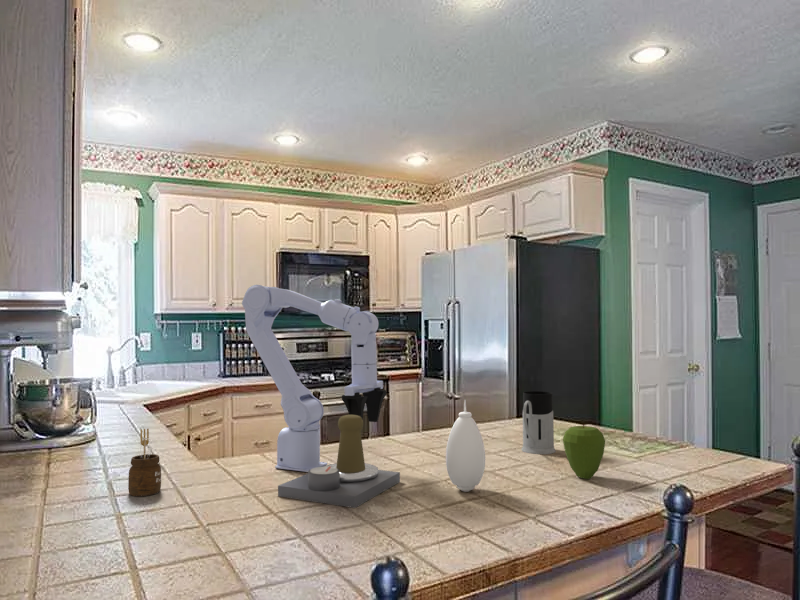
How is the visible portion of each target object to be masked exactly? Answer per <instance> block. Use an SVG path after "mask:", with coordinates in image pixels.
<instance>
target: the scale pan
mask: <svg viewBox="0 0 800 600" xmlns="http://www.w3.org/2000/svg"><path fill="white" fill-rule="evenodd" d="M336 466H337V462H336V463H331V465H330V464H327V465H325V466H323V467H334V468H336ZM378 470H379V468H378V466H376V465H374V464H371V463H366V462H365V470H363V471H360V472H352V473H345V472H340V482H358V481H365V480H369V479H372V478H375V477H376V476H378Z"/></svg>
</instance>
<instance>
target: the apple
mask: <svg viewBox="0 0 800 600" xmlns="http://www.w3.org/2000/svg"><path fill="white" fill-rule="evenodd" d="M562 443H563V449H564V453H565V455H566V458H567V461H568V464H569V466H570V468H571V470H572V471H573V473H574V474H575V475H576V477H577V478H581V479H585V480H589V479H592V477H594V475H595V474H596V473H597V472H598V471H599V469H600V466H601V463H602V459H603V456H604V454H605V448H606V447H605V446H606V439H605V437H604V434H603V432H602V431H600V429H598V427H593V426H586V425H585V424H583V425H577V426H576V425H575V426H571V427H569V428H567V430H566V431H564V435H563V437H562Z"/></svg>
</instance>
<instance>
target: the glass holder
mask: <svg viewBox="0 0 800 600" xmlns="http://www.w3.org/2000/svg"><path fill="white" fill-rule="evenodd" d="M522 394H523V395H522V401H523V403H522V406H523V407H522V447H521V450H520V451H521V452H524V453H527V454H533V455H551V454H554V453H556V449H555V446H554V444H555V439H554V438H555V437H554V436H555V434H554V433H555V432H554V430H555V428H554V410H553V408H554V407H553V401H554V400H553V392H550V391H543V390H542V391H541V390H540V391H539V390H536V391H534V390H532V391H531V390H529V391H523V393H522Z"/></svg>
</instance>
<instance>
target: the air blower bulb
mask: <svg viewBox="0 0 800 600" xmlns="http://www.w3.org/2000/svg"><path fill="white" fill-rule="evenodd" d="M472 415H473V414H472V412H470V411H467V401H466V399H464V402H463V411H460V412H459V413H458V417H457V419H456V420H455V421H454V423H453V426H452V427H451V430H450V432H449V435H448V438H447V443H446V448H445V466H446V472H447V474H448V475H447V476H448V477H449V479H450V481H451V483H452V485H455V486H456V488H457V489H458V490H461V491H462V492H465V493H466V492H471V490H474V489H475V487H476V486H478V485H479V484H480V482H481V481H482V478H483V475H484V474H485V469H486V450H485V443H484V440H483V437H482V433H481V430H480V428H479V426H478V424H477V423H476V421H475V419H474V418H473V417H472Z"/></svg>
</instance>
